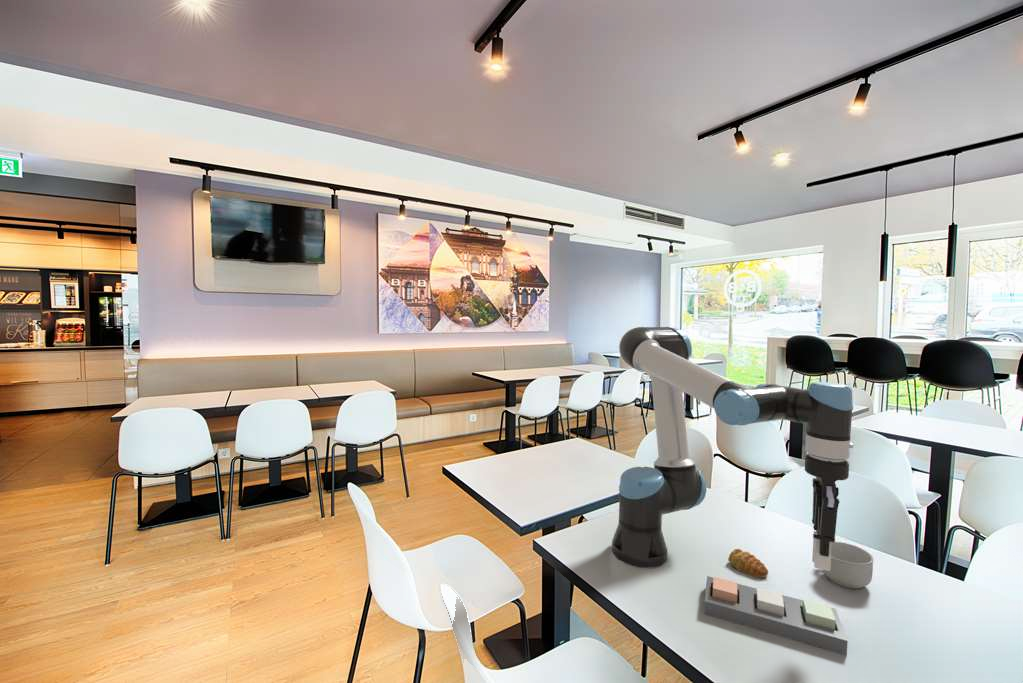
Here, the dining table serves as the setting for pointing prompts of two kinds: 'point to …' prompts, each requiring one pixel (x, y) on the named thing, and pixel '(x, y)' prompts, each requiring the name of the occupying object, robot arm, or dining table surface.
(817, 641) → the keypad
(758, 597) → the cream key
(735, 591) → the terracotta key
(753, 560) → the pastry
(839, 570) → the teacup
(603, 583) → the dining table surface
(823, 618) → the sage key
